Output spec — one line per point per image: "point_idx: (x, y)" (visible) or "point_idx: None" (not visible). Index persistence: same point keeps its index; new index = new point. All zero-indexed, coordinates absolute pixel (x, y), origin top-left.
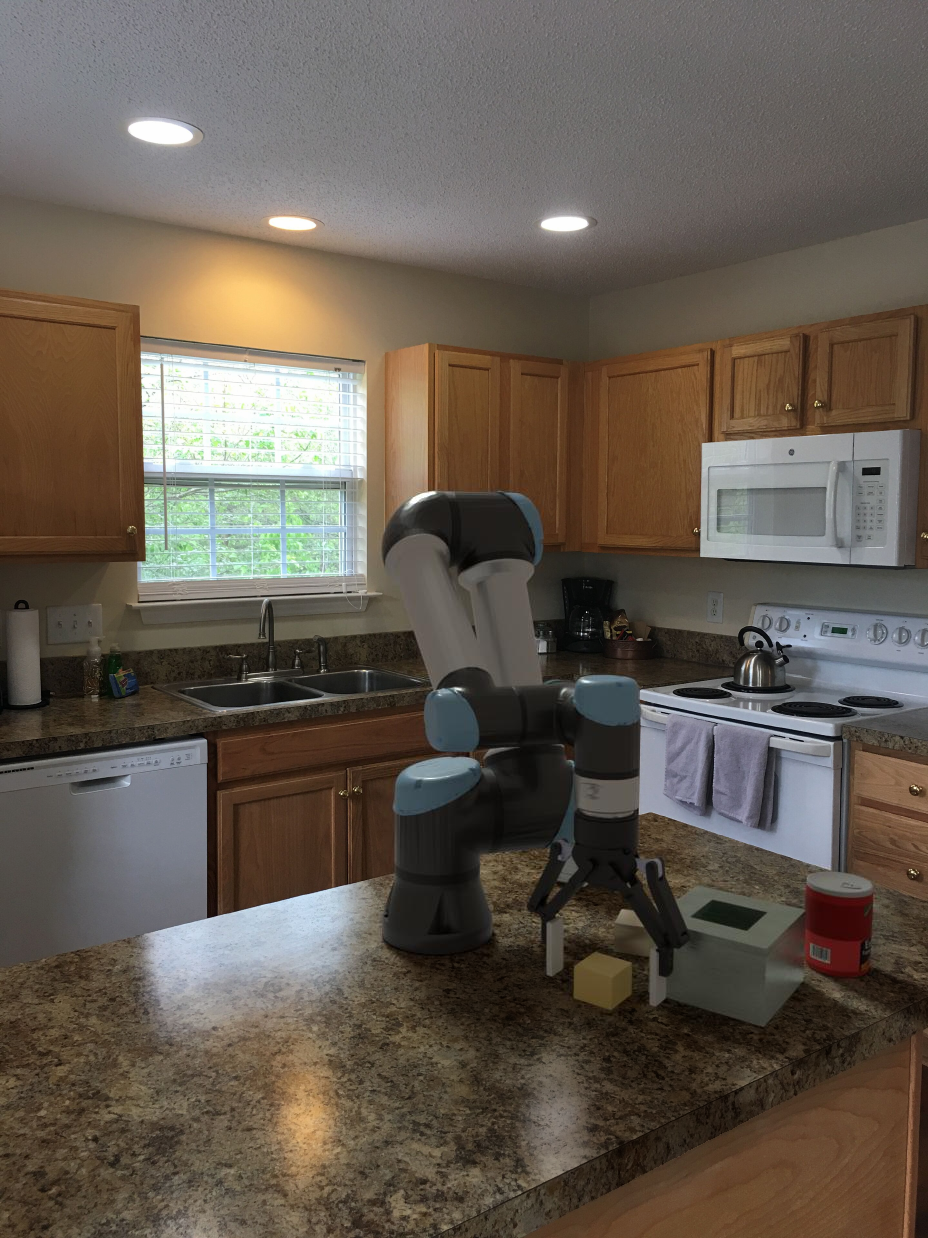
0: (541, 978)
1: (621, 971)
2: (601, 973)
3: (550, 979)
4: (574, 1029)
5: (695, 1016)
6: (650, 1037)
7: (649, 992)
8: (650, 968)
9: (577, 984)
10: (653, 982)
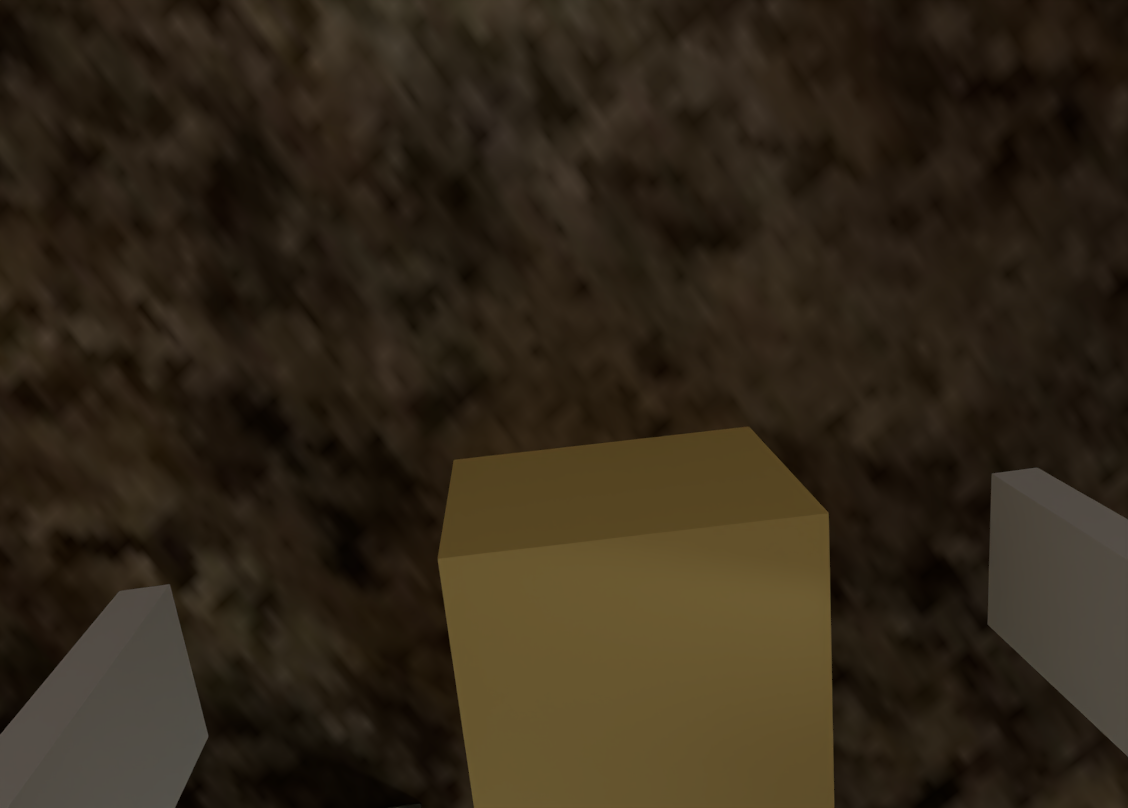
0: None
1: (461, 716)
2: (557, 563)
3: None
4: (477, 48)
5: None
6: (24, 333)
7: (413, 806)
8: (30, 773)
9: (748, 464)
10: (59, 695)
